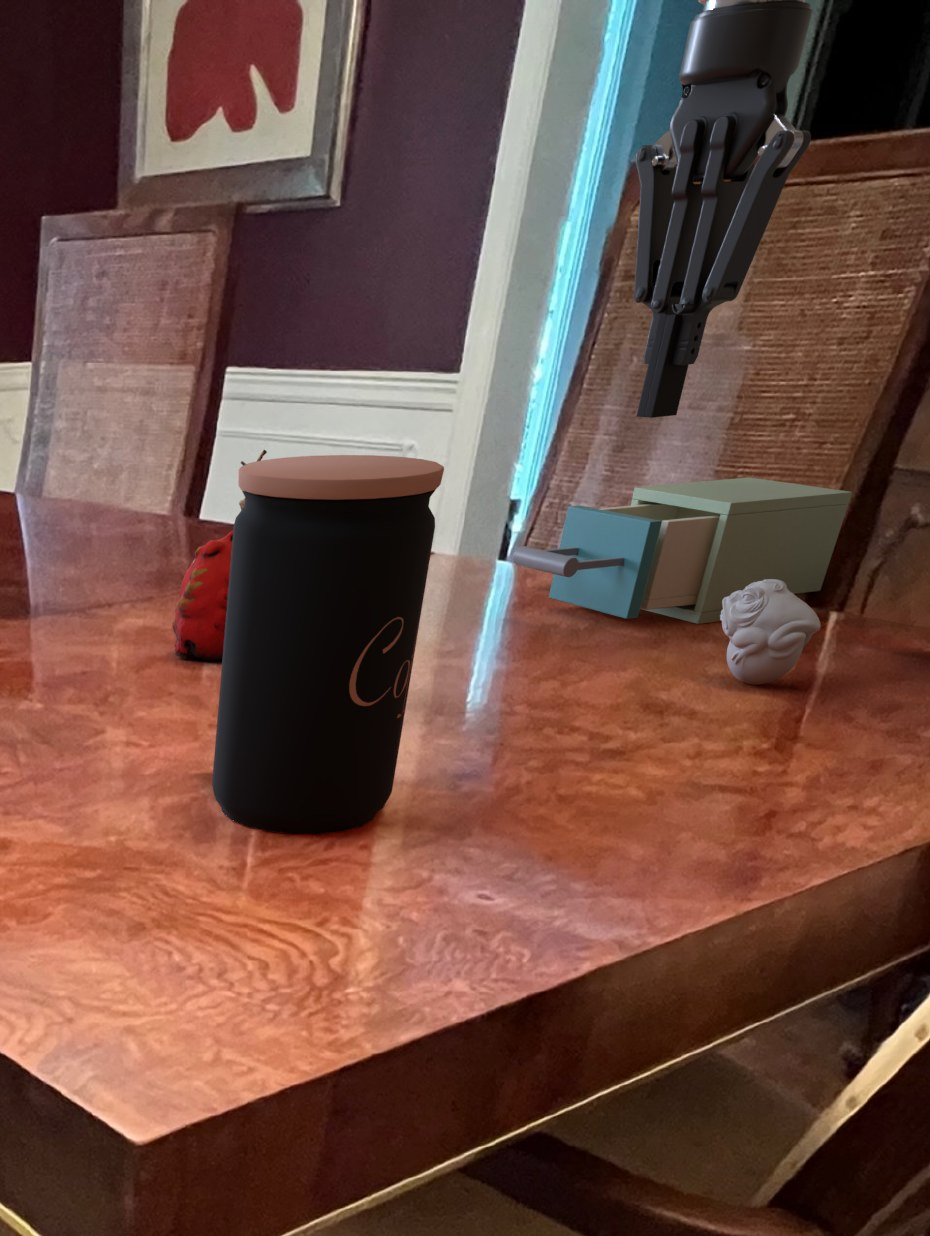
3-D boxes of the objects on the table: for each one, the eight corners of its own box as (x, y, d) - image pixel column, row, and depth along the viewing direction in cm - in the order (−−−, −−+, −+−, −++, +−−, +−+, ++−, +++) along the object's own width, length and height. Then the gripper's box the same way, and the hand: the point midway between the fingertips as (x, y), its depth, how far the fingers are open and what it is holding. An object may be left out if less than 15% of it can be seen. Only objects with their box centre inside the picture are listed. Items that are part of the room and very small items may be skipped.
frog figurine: (713, 669, 107) (741, 570, 103) (810, 680, 103) (844, 578, 99) (689, 685, 103) (718, 583, 99) (789, 697, 100) (823, 592, 95)
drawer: (565, 625, 116) (587, 527, 112) (490, 604, 124) (508, 511, 120) (735, 606, 120) (763, 511, 116) (652, 586, 128) (675, 496, 124)
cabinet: (697, 624, 119) (731, 503, 114) (607, 600, 128) (634, 487, 123) (814, 610, 122) (852, 491, 117) (718, 588, 131) (749, 477, 126)
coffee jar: (354, 849, 77) (409, 482, 66) (181, 822, 82) (206, 474, 71) (411, 797, 84) (469, 457, 73) (249, 774, 89) (281, 452, 78)
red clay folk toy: (199, 642, 120) (214, 442, 111) (272, 650, 116) (294, 445, 107) (157, 659, 115) (169, 452, 106) (232, 668, 112) (251, 455, 102)
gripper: (636, 17, 96) (557, 414, 110) (802, -14, 86) (692, 424, 101) (711, 20, 98) (624, 408, 113) (879, -10, 89) (761, 417, 103)
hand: (656, 415), depth 107 cm, fingers closed
